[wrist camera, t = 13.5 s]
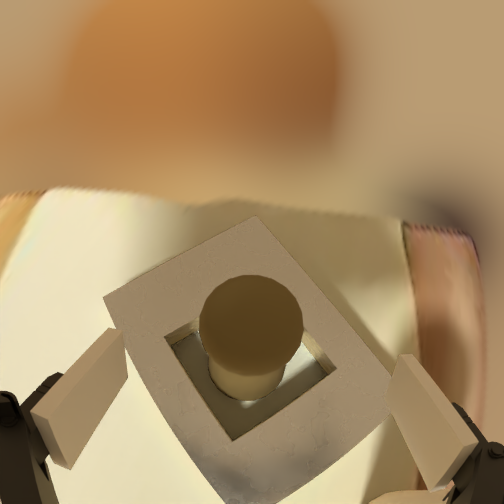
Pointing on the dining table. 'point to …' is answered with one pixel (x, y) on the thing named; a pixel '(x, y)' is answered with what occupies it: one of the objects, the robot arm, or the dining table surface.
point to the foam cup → (412, 497)
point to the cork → (250, 335)
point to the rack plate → (288, 418)
